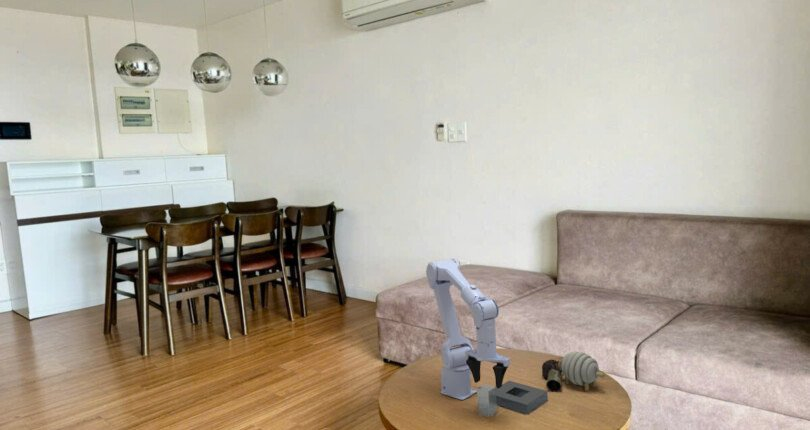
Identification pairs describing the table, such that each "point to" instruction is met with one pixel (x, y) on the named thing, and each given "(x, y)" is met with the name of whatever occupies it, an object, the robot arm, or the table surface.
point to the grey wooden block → (487, 400)
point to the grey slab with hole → (520, 397)
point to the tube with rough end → (552, 375)
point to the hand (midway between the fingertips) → (488, 384)
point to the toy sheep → (580, 369)
